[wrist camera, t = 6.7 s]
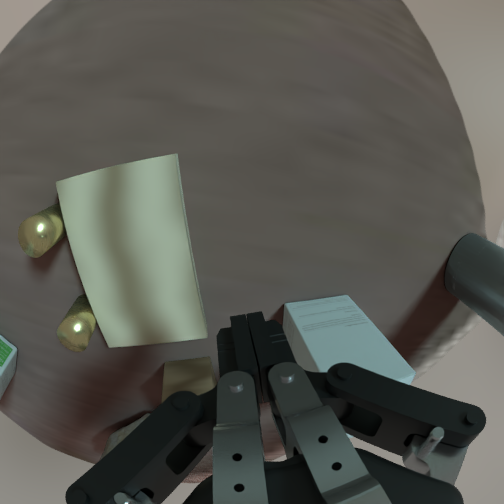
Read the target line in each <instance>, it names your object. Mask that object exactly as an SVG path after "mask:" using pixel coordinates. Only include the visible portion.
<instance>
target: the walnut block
mask: <svg viewBox="0 0 504 504" xmlns="http://www.w3.org/2000/svg"><path fill="white" fill-rule="evenodd" d="M216 385H217V381H216V378H215V374H214V371H213V367H212V363H211V360H210V357H203V358H195V359H187V360H178V361H169V362H165V365H164V376H163V388H162V402H164V401H165V400H166V399H167V398H168V397H169V396H170V395H171V394H173V393H175V392H178V391H191V392H193V393H195V394H196V395H200V394H203V393H205V392H208V391H210V390H211V389H213V388H214V387H215V386H216ZM162 402H161V403H162Z"/></svg>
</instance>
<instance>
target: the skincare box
mask: <svg viewBox="0 0 504 504" xmlns="http://www.w3.org/2000/svg"><path fill="white" fill-rule="evenodd" d="M16 359H17V348H16V347H15V346H14V345H12V344H11V343H9V342H8V341H7V340H6V339H5V338H4V337H2V336H1V335H0V399H1V397H2V395H3V393H4V392H5V390H6V388H7V386H8V384H9V382H10V381H11V379H12V377H13V375H14V374H15V370H16Z"/></svg>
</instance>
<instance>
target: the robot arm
mask: <svg viewBox="0 0 504 504" xmlns="http://www.w3.org/2000/svg"><path fill="white" fill-rule="evenodd" d="M445 287H446V289H447V290H448V291H449V292H450V293H451V294H453V295H454V296H455V297H457V298H458V299H459V300H460V301H462V302H463V303H464V304H465V305H467V306H468V307H469V308H470V309H472V310H473V311H474V312H476V313H477V314H478V315H479V316H480V317H482V318H483V319H484V320H485V321H487V322H488V323H489V324H490V325H491V326H493V327H494V328H495V329H496V330H497V331H498V332H500V333H501V334H502V335H503V336H504V249H503V248H502V247H500V246H498V245H496V244H494V243H492V242H490V241H488V240H487V239H485V238H483V237H481V236H479V235H477V234H474V233H470V234H468V235H466V236H464V237H463V238H462V239H461V240H460V241H459V242H458V244H457V245H456V247H455V248H454V250H453V252H452V254H451V256H450V258H449V261H448V263H447V267H446V271H445ZM246 315H247V319H246ZM246 315H245V314H243V315H237V316H230V320H231V327H229V328H222V329H220V331H219V333H218V335H217V348H218V360H219V372H220V379H219V381H218V383H217V385H216V386H215V387H214V388H213V389H211V390H210V391H208V392H205V393H203V394H200V395H196V394H195V393H193V392H191V391H178V392H175V393H173V394H171V395H170V396H169V397H168V398H167V399H166V400H165V401H164V402H162V403H161V404H160V405H159V406H158V407H157V408H156V409H155V410H154V411H153V412H152V413H151V414H150V415H149V416H148V417H147V418H146V419H145V420H144V421H143V422H142V423H141V424H139V425H138V426H137V427H136V428H135V429H134V430H133V431H132V432H131V433H130V434H129V435H128V436H127V437H125V438H124V439H123V440H122V441H121V442H120V443H119V444H118V445H117V446H116V447H114V448H113V449H112V450H111V451H110V452H109V453H108V454H107V455H106V456H104V457H103V458H102V459H101V460H100V461H99V462H98V463H96V464H95V465H94V466H93V467H92V468H91V469H90V470H88V471H87V472H86V473H85V474H84V475H83V476H81V477H80V478H79V479H78V480H77V481H75V482H74V483H73V484H72V485H71V486H70V487H69V488H68V490H67V491H66V502H67V504H161V503H162V502H163V501H164V500H165V499H166V498H167V497H168V496H169V495H170V494H171V493H172V492H173V491H174V490H175V488H176V487H177V486H178V485H179V484H180V483H181V482H182V481H183V480H184V479H185V478H186V476H187V475H188V474H189V473H190V472H191V471H192V470H193V469H194V467H195V466H196V465H197V464H198V463H199V462H200V460H201V459H202V458H203V457H204V456H205V455H206V453H207V452H208V451H209V450H210V449H211V447H212V446H213V475H211V476H210V477H208V478H206V479H205V480H204V481H202V482H201V483H200V484H199V485H198V486H197V487H196V488H195V489H194V490H193V492H192V493H191V494H190V495H189V496H188V498H187V499H186V500H185V501H184V503H183V504H464V503H463V498H462V495H461V493H460V492H459V491H458V489H457V488H456V487H455V486H454V484H455V481H456V479H457V476H458V474H459V471H460V469H461V466H462V463H463V460H464V457H465V454H466V451H467V448H468V446H469V444H470V443H471V442H472V441H473V440H474V439H475V438H476V437H477V436H478V434H479V433H480V432H481V431H482V430H483V429H484V427H485V424H486V417H485V414H484V412H483V411H482V410H481V409H480V408H479V407H477V406H475V405H471V404H468V403H464V402H460V401H457V400H454V399H450V398H447V397H444V396H441V395H438V394H435V393H432V392H429V391H426V390H422V389H419V388H417V387H414V386H411V385H408V384H405V383H402V382H399V381H397V380H394V379H391V378H388V377H386V376H383V375H380V374H377V373H375V372H372V371H370V370H367V369H364V368H362V367H359V366H357V365H354V364H351V363H346V362H342V363H337V364H335V365H333V366H331V367H330V368H329V369H328V371H327V372H310V371H307V370H304V369H303V368H302V367H301V366H300V365H298V364H297V362H296V360H295V357H294V355H293V352H292V350H291V347H290V345H289V342H288V340H287V338H286V335H285V333H284V330H283V328H282V325H280V324H279V323H278V322H277V321H276V320H270V321H265V319H264V316H263V313H262V311H261V312H255V313H249V314H246ZM247 323H248V324H247ZM261 392H262V395H261ZM262 396H263V400H264V402H270V406H271V411H272V417H273V420H274V423H275V425H276V428H277V431H278V433H279V436H280V439H281V441H282V444H283V447H284V449H285V453H286V457H287V460H285V461H281V462H268V461H265V456H264V449H263V441H262V433H261V424H260V406H259V403H262ZM346 433H347V434H349V435H351V436H354V437H356V438H358V439H360V440H363V441H365V442H367V443H370V444H372V445H374V446H377V447H380V448H382V449H384V450H387V451H389V452H392V453H395V454H397V455H400V456H403V457H402V458H403V463H404V465H405V466H406V467H403V466H401V465H398V464H396V463H393V462H391V461H389V460H386V459H384V458H382V457H380V456H377V455H375V454H373V453H371V452H368V451H366V450H363V449H359V448H354V447H353V445H352V443H351V441H350V439H349V438H348V436H347V434H346Z"/></svg>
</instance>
